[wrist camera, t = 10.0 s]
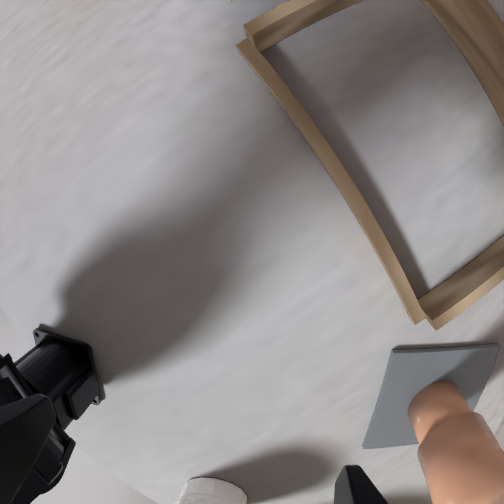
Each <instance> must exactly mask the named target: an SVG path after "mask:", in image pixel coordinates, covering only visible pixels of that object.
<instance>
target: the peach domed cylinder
mask: <svg viewBox="0 0 504 504" xmlns="http://www.w3.org/2000/svg"><path fill="white" fill-rule="evenodd" d="M408 417H409V419H410V422H411V424H412V427H413V429H414V432H415V435H416V437H417V440H418V443H419V445H420V446H419V449H418V453H417V455H418V459H419V462H420V465H421V468H422V471H423V474H424V477H425V480H426V483H427V486H428V489H429V493H430V496H431V499H432V502H433V504H503V503H504V452H503V450H502V448H501V447H500V445H499V443H498V441H497V440H496V438H495V436H494V435H493V433H492V431H491V430H490V428H489V426H488V425H487V423H486V422H485V420H484V418H483V417H482V415H480V414H479V413H476V412H473V411H472V410H471V408H470V406H469V405H468V403H467V402H466V400H465V398H464V397H463V395H462V394H461V392H460V391H459V389H458V387H457V386H456V385H455V384H454V383H453V382H451V381H438V382H435V383H432V384H430V385H428V386H426V387H425V388H423V389H422V390H421V391H420V392H418V393H417V394H416V395H415V397H414V398H413V399H412V401H411V402H410V404H409V407H408Z"/></svg>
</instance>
